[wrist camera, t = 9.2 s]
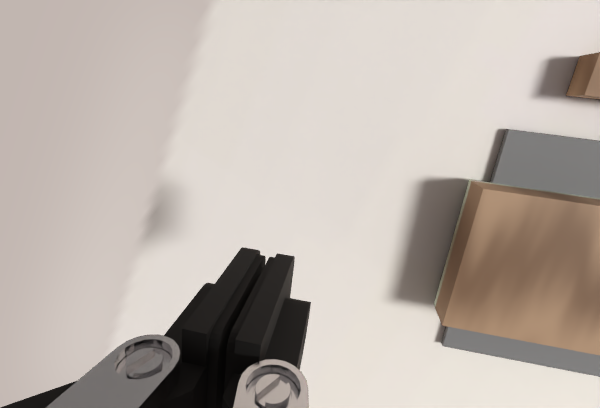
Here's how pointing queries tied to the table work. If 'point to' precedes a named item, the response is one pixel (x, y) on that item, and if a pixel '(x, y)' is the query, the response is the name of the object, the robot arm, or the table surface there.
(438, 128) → the table surface
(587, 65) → the turner
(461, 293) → the brown wooden block
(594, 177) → the mat
